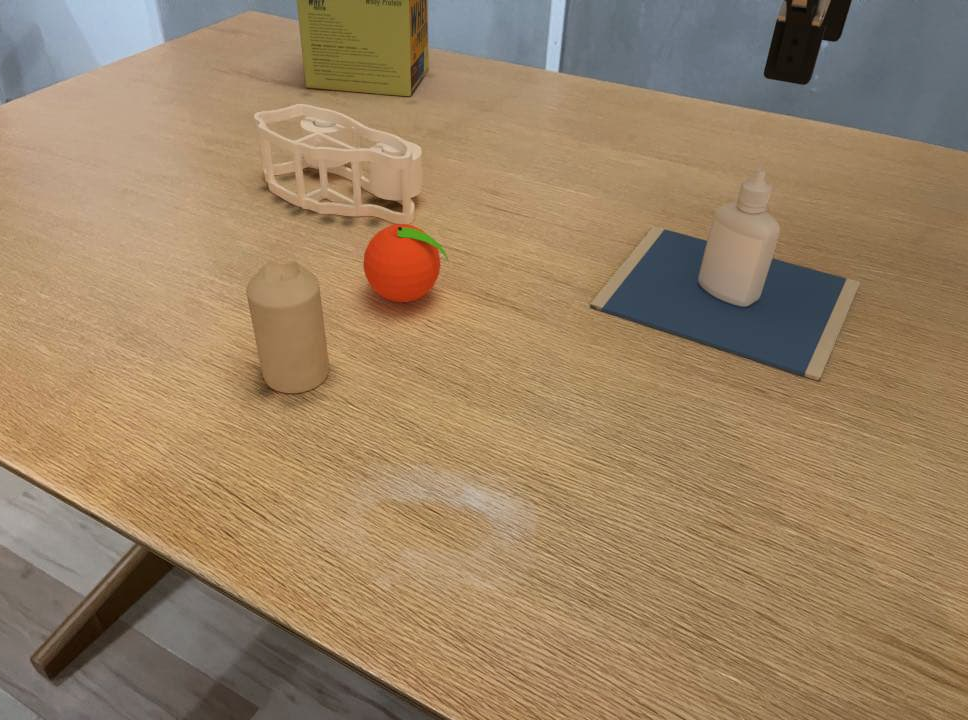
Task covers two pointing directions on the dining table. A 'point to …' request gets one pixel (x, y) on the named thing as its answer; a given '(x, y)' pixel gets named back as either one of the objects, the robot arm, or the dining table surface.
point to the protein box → (364, 44)
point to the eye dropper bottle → (741, 245)
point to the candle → (288, 327)
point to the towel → (731, 305)
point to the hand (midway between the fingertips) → (802, 58)
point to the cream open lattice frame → (342, 163)
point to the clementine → (402, 262)
